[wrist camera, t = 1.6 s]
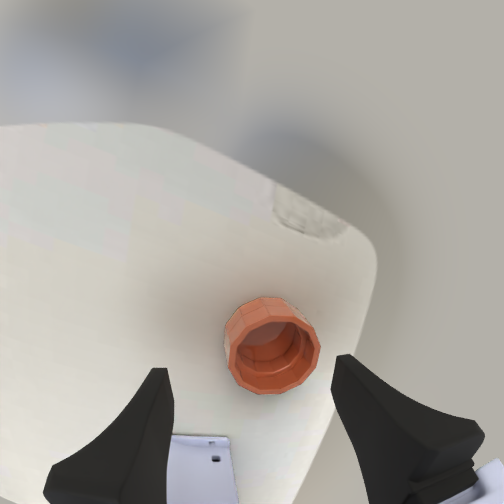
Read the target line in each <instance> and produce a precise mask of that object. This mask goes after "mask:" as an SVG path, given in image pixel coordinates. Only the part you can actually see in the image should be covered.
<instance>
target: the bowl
mask: <svg viewBox="0 0 504 504" xmlns="http://www.w3.org/2000/svg"><path fill="white" fill-rule="evenodd" d="M224 348H225V353H226V359H227V364H228V368H229V370H230V372H231V374H232V375H233V377H234V379H235V380H236V382H237V384H238V385H239V386H241V387H243V388H245V389H247V390H249V391H251V392H253V393H256V394H281V393H284V392H286V391H288V390H290V389H292V388H294V387H297V386H299V385H301V384H302V383H303V382H304V381H305V379H306V378H307V377H308V376H309V375H310V374H311V373H312V371H313V370H314V369H315V368H316V365H317V361H318V357H319V353H320V348H321V346H320V343H319V341H318V338H317V336H316V333H315V330H314V328H313V327H312V326H311V324H310V323H309V322H308V321H307V319H306V318H305V317H304V316H303V315H302V313H301V312H300V311H299V310H298V309H297V308H296V307H294V306H293V305H291V304H290V303H288V302H287V301H285V300H284V299H282V298H267V297H260V298H257V299H255V300H253V301H251V302H249V303H247V304H244V305H242V306H240V307H239V308H238V309H237V310H236V311H235V313H234V314H233V315H232V317H231V318H230V319H229V321H228V322H227V323H226V325H225V335H224Z"/></svg>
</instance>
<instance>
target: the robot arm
mask: <svg viewBox="0 0 504 504" xmlns="http://www.w3.org/2000/svg"><path fill="white" fill-rule="evenodd" d="M331 393H332V396H333V400H334V403H335V406H336V409H337V412H338V414H339V416H340V418H341V420H342V422H343V425H344V427H345V429H346V431H347V434H348V436H349V438H350V440H351V442H352V444H353V447H354V450H355V452H356V455H357V458H358V462H359V465H360V468H361V472H362V476H363V479H364V483H365V487H366V492H367V496H368V501H369V504H504V466H503V465H502V463H501V462H500V460H499V459H498V458H495V459H494V460H492V461H490V462H488V463H487V464H485V465H483V466H482V467H480V468H479V469H477V470H476V471H474V470H473V468H472V467H473V466H474V462H473V460H472V459H471V458H472V457H473V456H474V454H475V453H476V451H477V450H478V449H479V447H480V446H481V444H482V443H483V440H484V438H485V434H484V432H483V431H482V430H481V428H480V427H479V426H478V424H477V423H476V422H475V421H474V420H470V419H465V418H460V417H456V416H452V415H449V414H446V413H442V412H440V411H437V410H434V409H432V408H430V407H427V406H425V405H423V404H420V403H418V402H416V401H415V400H413V399H411V398H409V397H407V396H405V395H404V394H402V393H400V392H399V391H397V390H396V389H394V388H393V387H391V386H390V385H388V384H387V383H386V382H384V381H383V380H382V379H380V378H379V377H378V376H376V375H375V374H374V373H372V372H371V371H370V370H369V369H367V368H366V367H365V366H364V365H363V364H361V363H360V362H359V361H358V360H357V359H355V358H354V357H353V356H352V355H350V354H346V355H339V356H337V358H336V363H335V369H334V374H333V379H332V384H331ZM173 423H174V398H173V393H172V389H171V384H170V380H169V375H168V370H167V368H152V369H151V371H150V372H149V374H148V375H147V377H146V379H145V380H144V382H143V383H142V385H141V386H140V388H139V389H138V391H137V392H136V394H135V395H134V397H133V398H132V399H131V401H130V402H129V403H128V405H127V406H126V407H125V408H124V410H123V411H122V412H121V413H120V414H119V416H118V417H117V418H116V419H115V420H114V421H113V422H112V423H111V424H110V425H109V426H108V427H107V428H106V429H105V430H104V431H103V432H102V433H101V434H100V435H99V436H98V437H96V438H95V439H94V440H93V441H92V442H90V443H89V444H88V445H86V446H85V447H83V448H82V449H81V450H79V451H78V452H76V453H75V454H73V455H71V456H70V457H68V458H66V459H64V460H62V461H60V462H59V463H57V464H55V465H53V466H52V468H51V470H50V472H49V474H48V477H47V480H46V484H45V487H44V490H43V494H44V497H45V498H46V499H47V501H48V502H49V503H50V504H239V498H238V492H237V487H236V482H235V476H234V471H233V465H232V459H231V454H230V440H229V438H227V437H206V436H183V435H172V430H173ZM211 441H214V442H211Z"/></svg>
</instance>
